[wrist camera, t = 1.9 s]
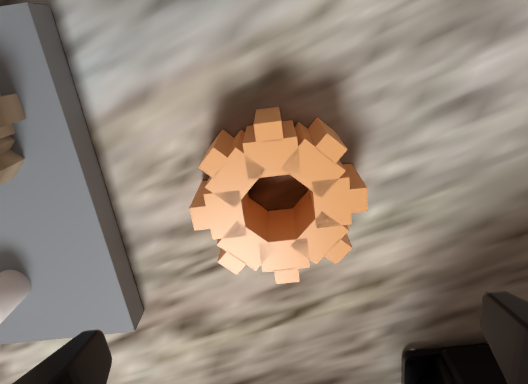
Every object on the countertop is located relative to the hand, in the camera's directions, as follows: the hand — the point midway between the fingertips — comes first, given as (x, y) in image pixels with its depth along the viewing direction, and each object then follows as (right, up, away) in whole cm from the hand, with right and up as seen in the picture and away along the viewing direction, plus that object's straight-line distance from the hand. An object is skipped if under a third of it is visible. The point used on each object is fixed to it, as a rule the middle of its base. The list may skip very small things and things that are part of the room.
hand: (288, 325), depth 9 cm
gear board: (-13, +3, +9) cm, 16 cm away
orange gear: (0, +4, +9) cm, 9 cm away
